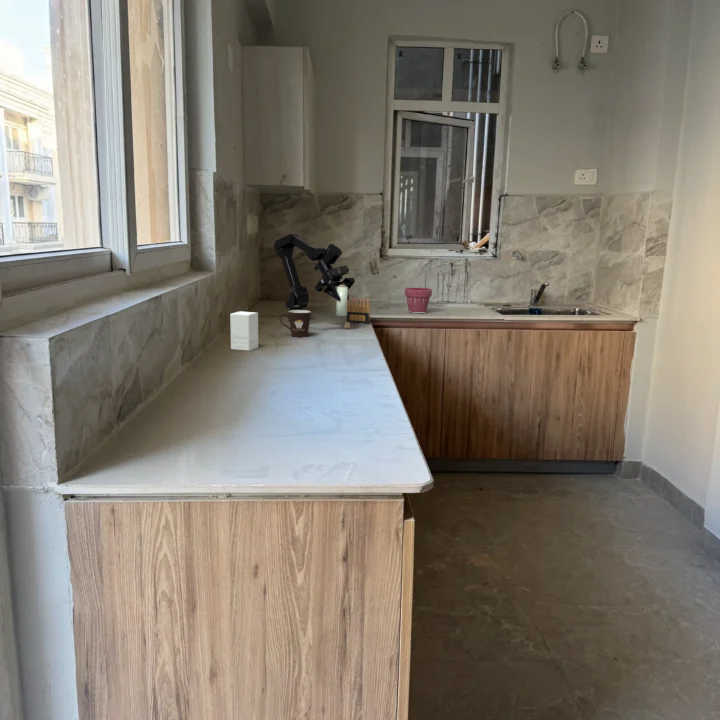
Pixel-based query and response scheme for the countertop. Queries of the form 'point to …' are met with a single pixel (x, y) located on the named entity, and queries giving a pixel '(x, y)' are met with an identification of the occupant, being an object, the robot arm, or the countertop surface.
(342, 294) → the stoneware bottle
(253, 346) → the supplement box
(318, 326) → the slate trivet
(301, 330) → the coffee mug
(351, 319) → the ammunition clip
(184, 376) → the countertop surface
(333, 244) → the robot arm
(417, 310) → the plant pot
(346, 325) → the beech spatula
